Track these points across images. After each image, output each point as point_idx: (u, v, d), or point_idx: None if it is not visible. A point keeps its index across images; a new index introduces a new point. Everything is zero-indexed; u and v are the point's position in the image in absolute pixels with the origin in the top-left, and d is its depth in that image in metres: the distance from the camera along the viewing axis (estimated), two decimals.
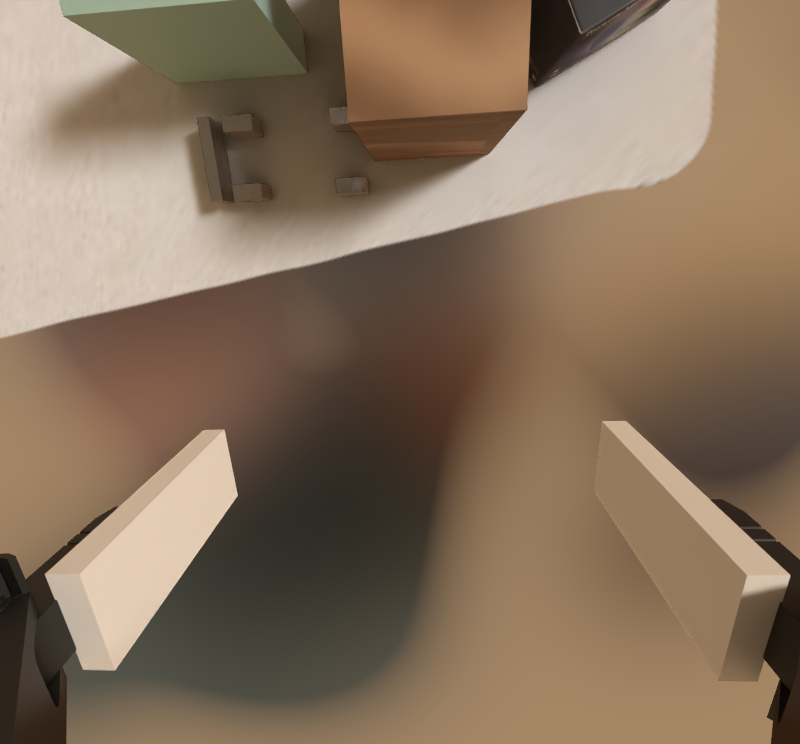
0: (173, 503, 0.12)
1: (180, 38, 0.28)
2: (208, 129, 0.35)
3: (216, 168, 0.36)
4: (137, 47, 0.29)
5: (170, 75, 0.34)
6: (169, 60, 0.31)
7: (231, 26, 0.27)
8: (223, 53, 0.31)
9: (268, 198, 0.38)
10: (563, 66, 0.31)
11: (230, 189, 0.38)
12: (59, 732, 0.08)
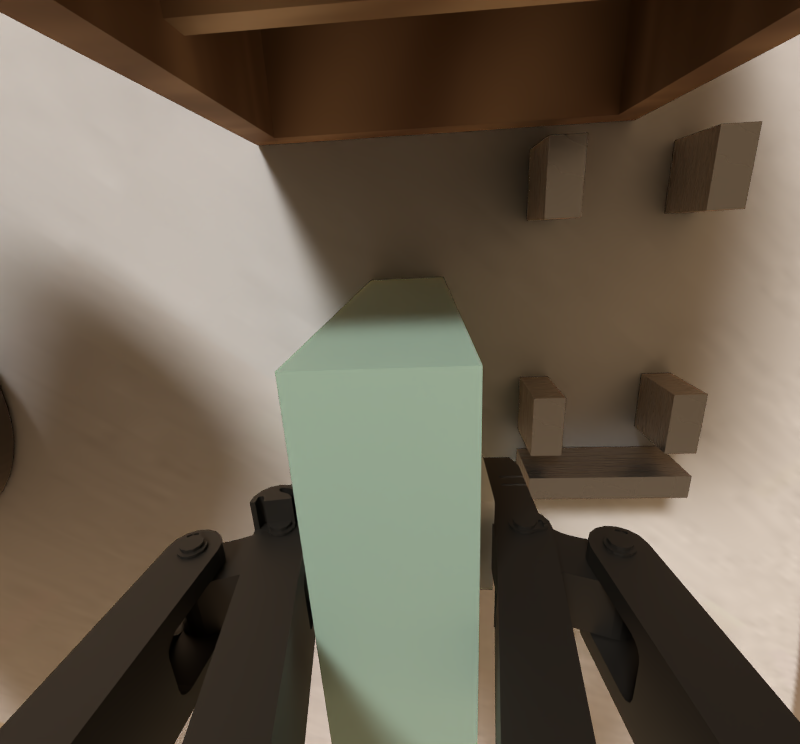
0: None
1: None
2: (552, 481, 0.17)
3: (624, 478, 0.17)
4: None
5: None
6: None
7: None
8: None
9: (680, 380, 0.17)
10: None
11: (638, 451, 0.19)
12: (310, 652, 0.09)
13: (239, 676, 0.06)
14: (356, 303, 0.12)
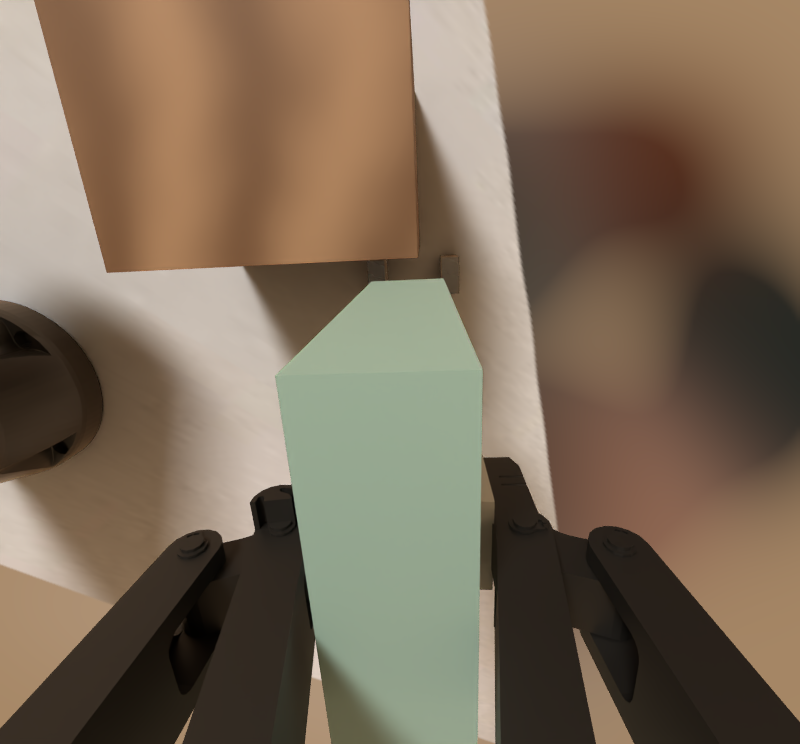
0: None
1: None
2: None
3: None
4: None
5: None
6: None
7: None
8: None
9: None
10: None
11: None
12: (309, 652, 0.09)
13: (239, 676, 0.06)
14: (356, 305, 0.12)
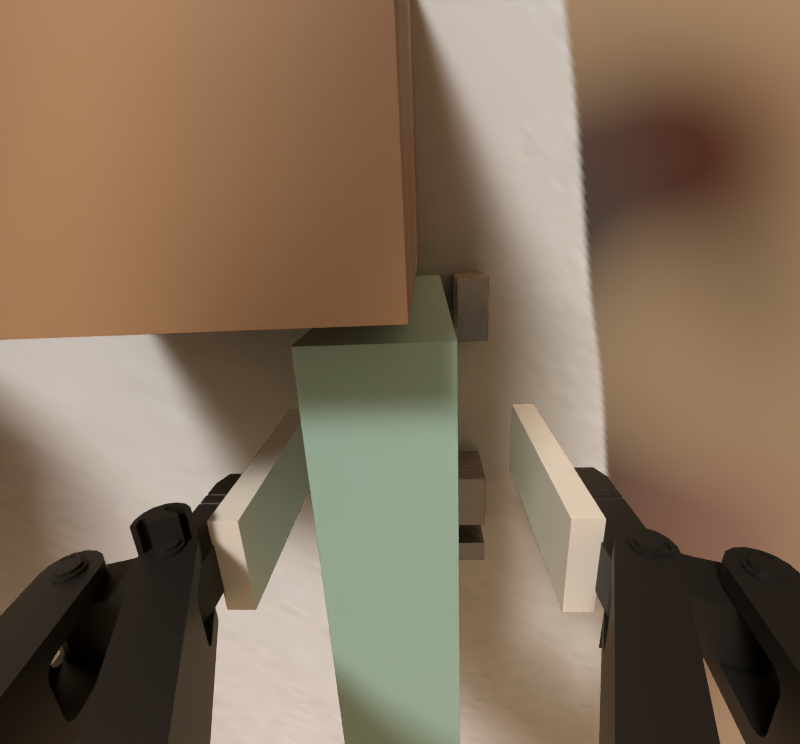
0: (283, 470, 0.13)
1: None
2: None
3: None
4: None
5: None
6: None
7: None
8: None
9: (478, 461, 0.20)
10: None
11: None
12: (210, 670, 0.09)
13: (126, 705, 0.06)
14: None
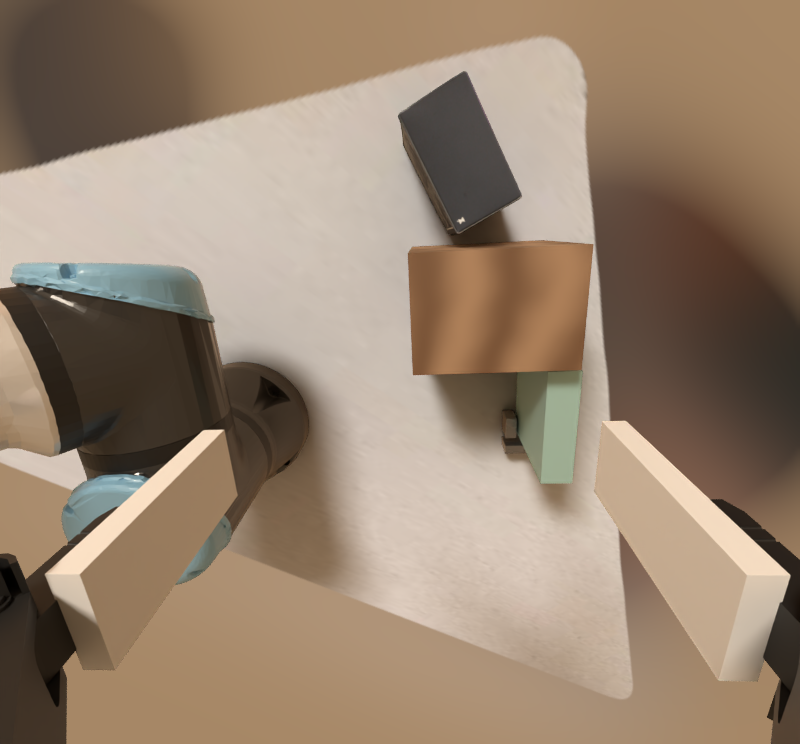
0: (173, 503, 0.12)
1: None
2: (513, 446, 0.50)
3: None
4: None
5: None
6: None
7: None
8: None
9: None
10: None
11: None
12: (59, 732, 0.08)
13: None
14: None
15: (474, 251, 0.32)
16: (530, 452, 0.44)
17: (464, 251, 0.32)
